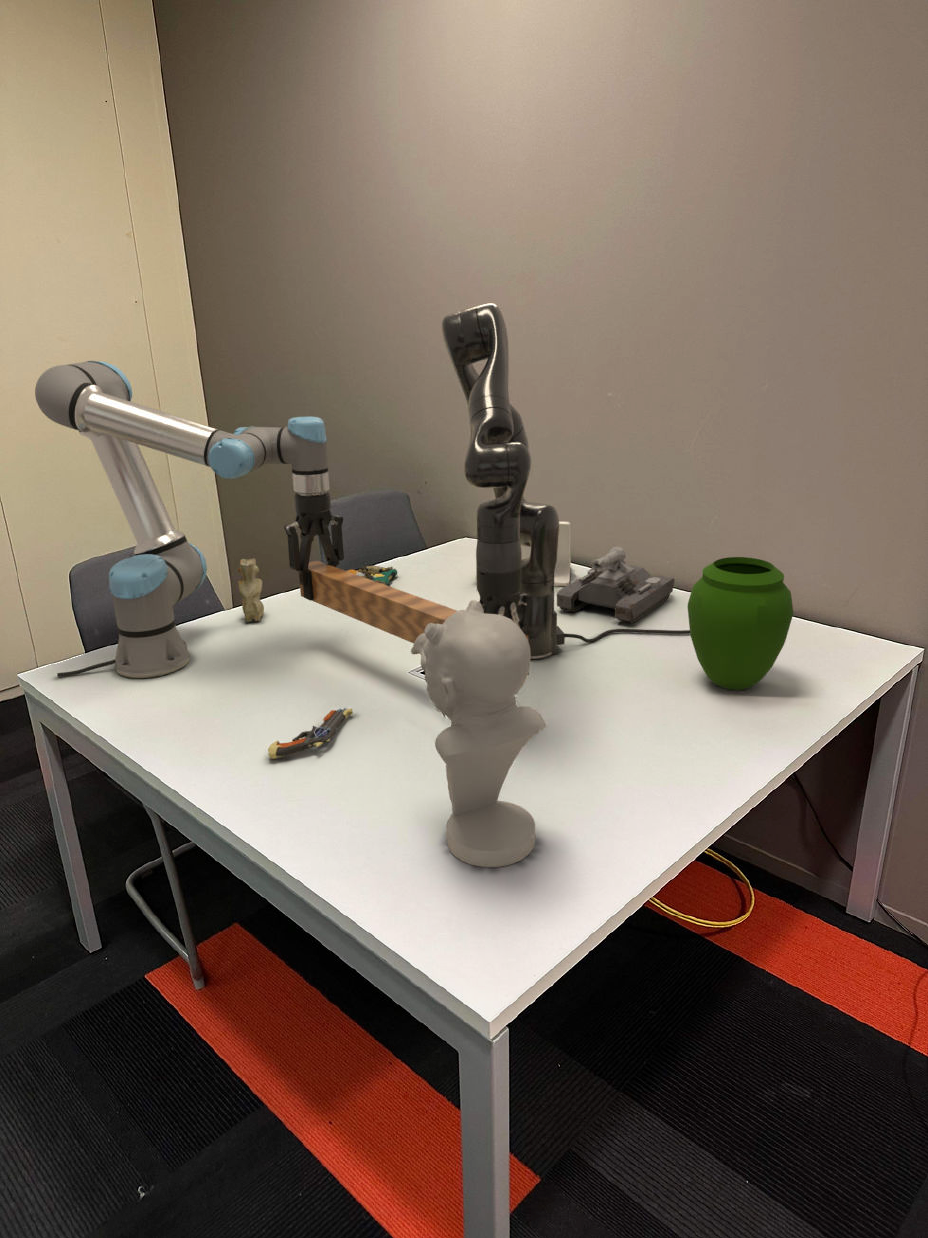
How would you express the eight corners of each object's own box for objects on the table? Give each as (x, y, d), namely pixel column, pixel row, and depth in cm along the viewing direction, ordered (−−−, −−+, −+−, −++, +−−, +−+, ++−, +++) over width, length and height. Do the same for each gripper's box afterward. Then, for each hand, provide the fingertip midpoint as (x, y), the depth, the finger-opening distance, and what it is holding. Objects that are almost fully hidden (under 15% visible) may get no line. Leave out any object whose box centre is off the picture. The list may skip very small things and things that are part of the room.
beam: (528, 674, 147) (528, 635, 144) (508, 683, 144) (507, 643, 141) (319, 590, 194) (316, 560, 191) (300, 596, 191) (297, 565, 188)
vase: (795, 674, 173) (808, 558, 164) (770, 712, 157) (784, 587, 149) (700, 656, 183) (708, 546, 174) (668, 690, 167) (675, 571, 159)
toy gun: (263, 749, 145) (318, 746, 143) (303, 706, 163) (352, 703, 161) (266, 763, 146) (321, 761, 144) (306, 719, 164) (355, 716, 161)
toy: (603, 584, 229) (605, 530, 224) (673, 597, 218) (677, 540, 213) (555, 612, 210) (556, 553, 205) (630, 627, 199) (633, 566, 194)
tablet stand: (569, 585, 229) (570, 524, 223) (476, 584, 232) (475, 523, 226) (570, 566, 246) (571, 508, 240) (484, 564, 249) (483, 507, 243)
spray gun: (366, 572, 247) (411, 580, 241) (334, 586, 233) (382, 594, 227) (366, 558, 246) (412, 565, 240) (334, 571, 232) (382, 579, 226)
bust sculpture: (481, 772, 140) (476, 569, 128) (565, 848, 120) (569, 617, 108) (392, 800, 134) (378, 588, 121) (465, 886, 114) (457, 642, 101)
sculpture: (268, 613, 216) (261, 555, 210) (263, 623, 209) (256, 564, 204) (245, 614, 215) (238, 556, 210) (239, 624, 209) (232, 565, 203)
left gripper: (337, 483, 189) (344, 583, 197) (264, 495, 178) (275, 601, 186) (357, 488, 184) (363, 590, 192) (283, 501, 172) (293, 609, 181)
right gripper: (513, 550, 148) (514, 641, 154) (451, 569, 140) (454, 664, 146) (545, 559, 143) (544, 652, 149) (482, 579, 134) (484, 677, 140)
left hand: (319, 595), depth 189 cm, fingers closed on beam, 5 cm apart
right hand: (500, 657), depth 147 cm, fingers closed on beam, 5 cm apart
